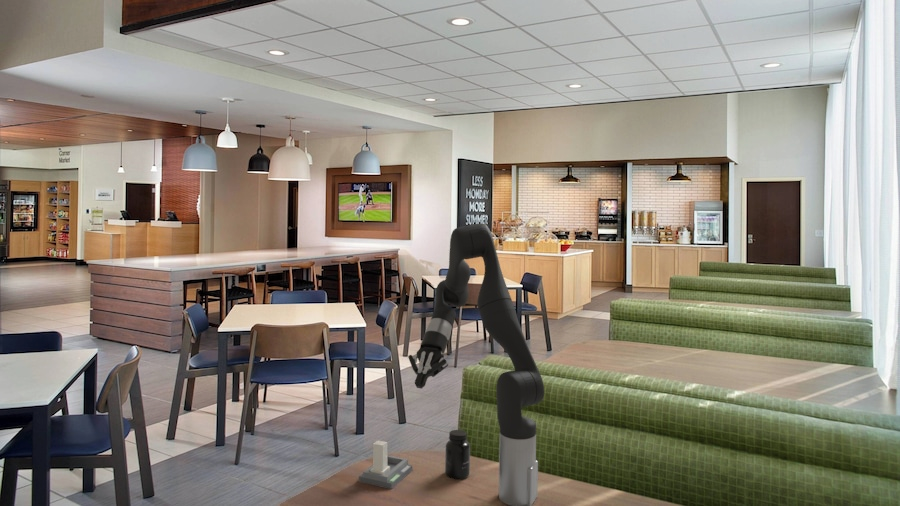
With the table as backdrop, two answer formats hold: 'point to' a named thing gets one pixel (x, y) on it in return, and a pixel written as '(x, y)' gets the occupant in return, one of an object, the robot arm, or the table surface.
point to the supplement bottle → (457, 455)
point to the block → (380, 458)
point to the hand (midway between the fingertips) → (418, 387)
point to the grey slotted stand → (392, 478)
